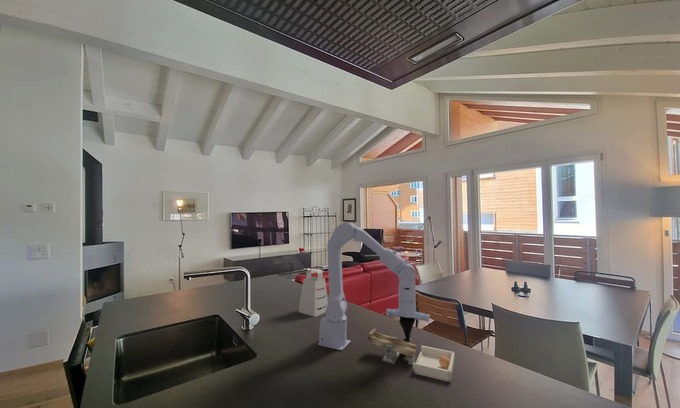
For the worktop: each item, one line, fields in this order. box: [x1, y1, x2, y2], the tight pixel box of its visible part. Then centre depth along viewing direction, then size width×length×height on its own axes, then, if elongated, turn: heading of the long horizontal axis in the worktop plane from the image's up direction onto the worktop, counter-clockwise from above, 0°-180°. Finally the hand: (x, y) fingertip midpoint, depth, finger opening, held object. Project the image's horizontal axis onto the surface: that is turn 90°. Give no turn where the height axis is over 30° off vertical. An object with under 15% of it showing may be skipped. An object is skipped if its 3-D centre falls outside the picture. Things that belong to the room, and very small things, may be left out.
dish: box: [412, 345, 456, 383], centre depth 89 cm, size 10×13×3 cm
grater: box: [298, 268, 328, 318], centre depth 140 cm, size 10×10×20 cm
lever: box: [367, 328, 418, 357], centre depth 97 cm, size 15×11×3 cm
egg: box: [439, 356, 450, 368], centre depth 87 cm, size 3×3×3 cm
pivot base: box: [381, 336, 416, 366], centre depth 94 cm, size 9×8×5 cm
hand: (407, 339), depth 99 cm, fingers closed, pressing on lever
